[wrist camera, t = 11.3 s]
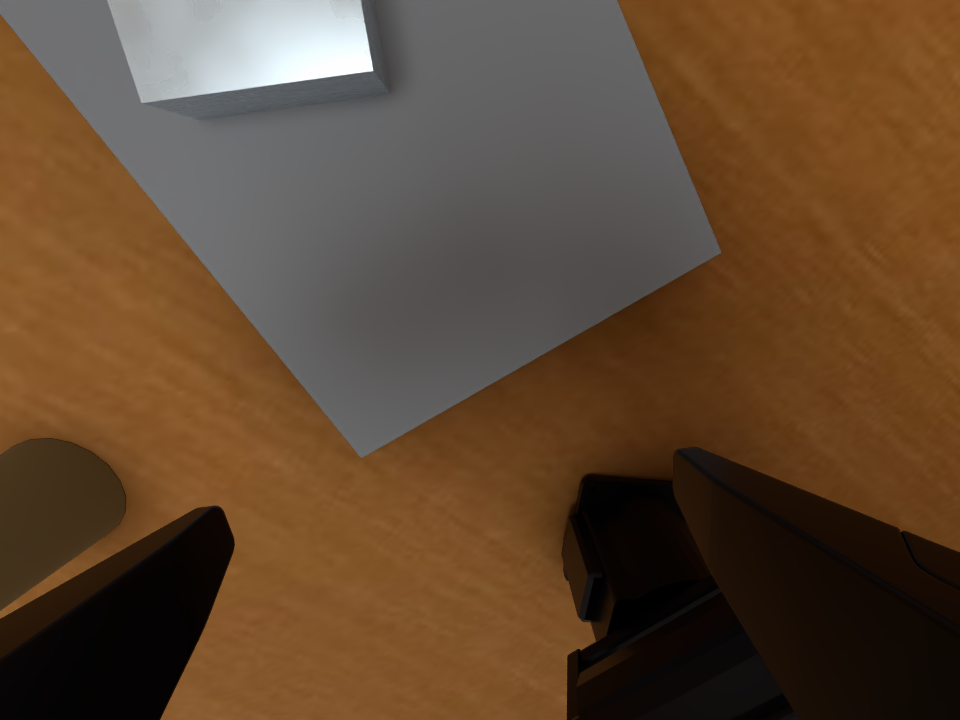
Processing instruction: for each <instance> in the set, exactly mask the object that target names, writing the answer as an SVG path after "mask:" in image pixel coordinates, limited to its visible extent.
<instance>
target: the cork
mask: <svg viewBox="0 0 960 720" xmlns="http://www.w3.org/2000/svg"><path fill="white" fill-rule="evenodd" d="M125 504H126V496H125V493H124V491H123V488H122V485H121V482H120V480H119V479H118V478H117V476H116V475H115V474H114V472H113V471H112V470H111V468H110V467H109V466H108V465H107V464H106V463H105V462H103V461H102V460H101V459H100V458H98V457H97V456H96V455H95V454H93V453H92V452H90V451H88V450H86V449H84V448H82V447H79V446H77V445H75V444H73V443H70V442H65V441H61V440H56V439H51V438H47V439H30V440H27V441H25V442H22V443H19V444H17V445H14V446H13V447H11V448H10V449H8V450H7V451H6V452H4V453H3V454H1V455H0V611H1V610H2V609H3V608H5V607H6V606H8V605H9V604H10V603H12V602H13V601H15V600H16V599H17V598H19V597H20V596H22V595H23V594H24V593H26V592H27V591H29V590H30V589H31V588H33V587H34V586H36V585H37V584H38V583H40V582H41V581H43V580H44V579H45V578H47V577H48V576H50V575H51V574H52V573H54V572H55V571H57V570H58V569H59V568H61V567H62V566H64V565H65V564H66V563H68V562H69V561H71V560H72V559H73V558H75V557H76V556H78V555H79V554H80V553H82V552H83V551H85V550H86V549H87V548H89V547H90V546H92V545H93V544H94V543H96V542H97V541H99V540H100V539H101V538H103V537H104V536H106V535H107V534H108V533H110V532H111V531H112V530H113V529H114V528H116V527H117V526H118V525H119V524H120V522H121V520H122V517H123V515H124V513H125Z"/></svg>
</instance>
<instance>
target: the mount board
mask: <svg viewBox="0 0 960 720" xmlns="http://www.w3.org/2000/svg"><path fill="white" fill-rule="evenodd" d="M374 3H375V8H376V14H377V20H378V26H379V32H380V38H381V44H382V50H383V56H384V62H385V68H386V73H387V79H388V85H389V91H390V94H384V95H377V96H369V97H362V98H355V99H348V100H341V101H333V102H326V103H319V104H312V105H305V106H297V107H290V108H283V109H276V110H269V111H261V112H254V113H247V114H240V115H232V116H225V117H218V118H211V119H204V120H196V119H193V118H189V117H186V116H183V115H179V114H176V113H173V112H169V111H166V110H163V109H159V108H156V107H153V106H149V105H146V104H143V103H141V100H140V97H139V94H138V91H137V88H136V85H135V82H134V79H133V76H132V73H131V70H130V67H129V64H128V61H127V58H126V55H125V52H124V49H123V46H122V43H121V40H120V37H119V34H118V31H117V28H116V25H115V22H114V19H113V16H112V13H111V10H110V7H109V4H108V1H107V0H0V14H1V15H2V17H3V18H4V19H5V20H6V22H7V23H8V24H9V25H10V26H11V28H12V29H13V30H14V31H15V33H16V34H17V35H18V36H19V38H20V39H21V40H22V41H23V42H24V44H25V45H26V46H27V47H28V49H29V50H30V51H31V52H32V54H33V55H34V56H35V57H36V58H37V60H38V61H39V62H40V63H41V65H42V66H43V67H44V68H45V70H46V71H47V72H48V73H49V74H50V76H51V77H52V78H53V79H54V81H55V82H56V83H57V84H58V86H59V87H60V88H61V89H62V90H63V92H64V93H65V94H66V95H67V97H68V98H69V99H70V100H71V102H72V103H73V104H74V105H75V106H76V108H77V109H78V110H79V111H80V113H81V114H82V115H83V116H84V118H85V119H86V120H87V121H88V122H89V124H90V125H91V126H92V127H93V129H94V130H95V131H96V132H97V134H98V135H99V136H100V137H101V138H102V140H103V141H104V142H105V143H106V145H107V146H108V147H109V148H110V150H111V151H112V152H113V153H114V154H115V156H116V157H117V158H118V159H119V161H120V162H121V163H122V164H123V166H124V167H125V168H126V169H127V170H128V172H129V173H130V174H131V175H132V177H133V178H134V179H135V180H136V182H137V183H138V184H139V185H140V186H141V188H142V189H143V190H144V191H145V193H146V194H147V195H148V196H149V198H150V199H151V200H152V201H153V202H154V204H155V205H156V206H157V207H158V209H159V210H160V211H161V212H162V214H163V215H164V216H165V217H166V218H167V220H168V221H169V222H170V223H171V225H172V226H173V227H174V228H175V230H176V231H177V232H178V233H179V234H180V236H181V237H182V238H183V239H184V241H185V242H186V243H187V244H188V246H189V247H190V248H191V249H192V250H193V252H194V253H195V254H196V255H197V257H198V258H199V259H200V260H201V262H202V263H203V264H204V265H205V266H206V268H207V269H208V270H209V271H210V273H211V274H212V275H213V276H214V278H215V279H216V280H217V281H218V282H219V284H220V285H221V286H222V287H223V289H224V290H225V291H226V292H227V294H228V295H229V296H230V297H231V298H232V300H233V301H234V302H235V303H236V305H237V306H238V307H239V308H240V310H241V311H242V312H243V313H244V314H245V316H246V317H247V318H248V319H249V321H250V322H251V323H252V324H253V326H254V327H255V328H256V329H257V330H258V332H259V333H260V334H261V335H262V337H263V338H264V339H265V340H266V342H267V343H268V344H269V345H270V346H271V348H272V349H273V350H274V351H275V353H276V354H277V355H278V356H279V358H280V359H281V360H282V361H283V362H284V364H285V365H286V366H287V367H288V369H289V370H290V371H291V372H292V374H293V375H294V376H295V377H296V378H297V380H298V381H299V382H300V383H301V385H302V386H303V387H304V388H305V390H306V391H307V392H308V393H309V394H310V396H311V397H312V398H313V399H314V401H315V402H316V403H317V404H318V406H319V407H320V408H321V409H322V410H323V412H324V413H325V414H326V415H327V417H328V418H329V419H330V420H331V422H332V423H333V424H334V425H335V426H336V428H337V429H338V430H339V431H340V433H341V434H342V435H343V436H344V438H345V439H346V440H347V441H348V442H349V444H350V445H351V446H352V447H353V449H354V450H355V451H356V452H357V454H358V455H359V456H360V457H361V458H363V457H365V456H366V455H368V454H370V453H372V452H373V451H375V450H377V449H379V448H380V447H382V446H384V445H386V444H387V443H389V442H391V441H393V440H394V439H396V438H398V437H400V436H401V435H403V434H405V433H407V432H408V431H410V430H412V429H414V428H415V427H417V426H419V425H421V424H422V423H424V422H426V421H428V420H429V419H431V418H433V417H435V416H436V415H438V414H440V413H442V412H443V411H445V410H447V409H449V408H450V407H452V406H454V405H456V404H457V403H459V402H461V401H463V400H464V399H466V398H468V397H470V396H471V395H473V394H475V393H477V392H478V391H480V390H482V389H484V388H485V387H487V386H489V385H491V384H492V383H494V382H496V381H498V380H499V379H501V378H503V377H505V376H506V375H508V374H510V373H512V372H513V371H515V370H517V369H519V368H520V367H522V366H524V365H526V364H527V363H529V362H531V361H533V360H534V359H536V358H538V357H540V356H541V355H543V354H545V353H547V352H548V351H550V350H552V349H554V348H555V347H557V346H559V345H561V344H562V343H564V342H566V341H568V340H569V339H571V338H573V337H575V336H576V335H578V334H580V333H582V332H583V331H585V330H587V329H589V328H590V327H592V326H594V325H596V324H597V323H599V322H601V321H603V320H604V319H606V318H608V317H610V316H611V315H613V314H615V313H617V312H618V311H620V310H622V309H624V308H625V307H627V306H629V305H631V304H632V303H634V302H636V301H638V300H640V299H641V298H643V297H645V296H647V295H648V294H650V293H652V292H654V291H655V290H657V289H659V288H661V287H662V286H664V285H666V284H668V283H669V282H671V281H673V280H675V279H676V278H678V277H680V276H682V275H683V274H685V273H687V272H689V271H690V270H692V269H694V268H696V267H697V266H699V265H701V264H703V263H704V262H706V261H708V260H710V259H711V258H713V257H715V256H717V255H718V254H720V253H722V252H721V250H720V248H719V245H718V243H717V240H716V238H715V235H714V233H713V231H712V228H711V226H710V223H709V221H708V219H707V216H706V214H705V211H704V209H703V207H702V204H701V202H700V199H699V197H698V194H697V192H696V190H695V187H694V185H693V182H692V180H691V178H690V175H689V173H688V170H687V168H686V165H685V163H684V161H683V158H682V156H681V153H680V151H679V149H678V146H677V144H676V141H675V139H674V137H673V134H672V132H671V129H670V127H669V124H668V122H667V120H666V117H665V115H664V112H663V110H662V108H661V105H660V103H659V100H658V98H657V96H656V93H655V91H654V88H653V86H652V83H651V81H650V79H649V76H648V74H647V71H646V69H645V67H644V64H643V62H642V59H641V57H640V54H639V52H638V50H637V47H636V45H635V42H634V40H633V38H632V35H631V33H630V30H629V28H628V26H627V23H626V21H625V18H624V16H623V13H622V11H621V9H620V6H619V4H618V1H617V0H374Z"/></svg>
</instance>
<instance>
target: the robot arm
mask: <svg viewBox="0 0 960 720" xmlns="http://www.w3.org/2000/svg"><path fill="white" fill-rule="evenodd" d="M592 484H594V485H595V486H594V487H593V488H588V486H590V485H592ZM234 546H235V542H234V537H233V534H232V531H231V529H230V526H229V524H228V521H227V518H226V516H225V513H224V511H223V509H222V508H221V507H219V506H208V507H199V508H196V509H194V510H192V511H191V512H189V513H187V514H185V515H183V516H182V517H180V518H178V519H176V520H175V521H173V522H171V523H169V524H168V525H166V526H164V527H162V528H160V529H159V530H157V531H155V532H153V533H152V534H150V535H148V536H146V537H145V538H143V539H141V540H139V541H137V542H136V543H134V544H132V545H130V546H129V547H127V548H125V549H123V550H121V551H120V552H118V553H116V554H114V555H113V556H111V557H109V558H107V559H106V560H104V561H102V562H100V563H98V564H97V565H95V566H93V567H91V568H90V569H88V570H86V571H84V572H83V573H81V574H79V575H77V576H75V577H74V578H72V579H70V580H68V581H67V582H65V583H63V584H61V585H60V586H58V587H56V588H54V589H52V590H51V591H49V592H47V593H45V594H44V595H42V596H40V597H38V598H36V599H35V600H33V601H31V602H29V603H28V604H26V605H24V606H22V607H21V608H19V609H17V610H15V611H13V612H12V613H10V614H8V615H6V616H5V617H3V618H1V619H0V720H160V719H161V717H162V715H163V713H164V711H165V709H166V706H167V704H168V702H169V700H170V698H171V696H172V694H173V692H174V690H175V688H176V686H177V684H178V682H179V680H180V678H181V676H182V674H183V671H184V669H185V667H186V665H187V663H188V661H189V659H190V657H191V655H192V653H193V651H194V649H195V647H196V645H197V643H198V641H199V638H200V636H201V634H202V632H203V630H204V627H205V625H206V623H207V620H208V618H209V615H210V613H211V610H212V607H213V605H214V602H215V599H216V597H217V594H218V591H219V589H220V586H221V584H222V581H223V578H224V576H225V573H226V570H227V568H228V565H229V562H230V560H231V557H232V554H233V551H234ZM562 558H563V562H564V568H563V572H564V576H565V578H566V580H567V581H569V584H570V588H571V592H572V596H573V599H574V603H575V607H576V611H577V615H578V617H579V618H580V619H581V621H582V622H591V626H592V629H593V633H594V636H595V639H596V642H595V643H593V644H591V645H589V646H588V647H586V648H584V649H583V650H580V649H577V650H576V651H574V652H572V653H570V654H569V655H568V657H567V720H960V552H957V551H955V550H952V549H950V548H947V547H945V546H942V545H939V544H937V543H934V542H932V541H929V540H927V539H924V538H922V537H919V536H917V535H915V534H912V533H910V532H907V531H902V532H901V531H900V530H899V529H898V528H897V527H894V526H892V525H889V524H887V523H884V522H882V521H880V520H877V519H875V518H872V517H870V516H867V515H865V514H862V513H860V512H857V511H855V510H852V509H850V508H847V507H845V506H842V505H840V504H837V503H835V502H832V501H830V500H827V499H825V498H822V497H820V496H817V495H815V494H812V493H810V492H807V491H805V490H802V489H800V488H797V487H795V486H792V485H790V484H788V483H785V482H783V481H780V480H778V479H775V478H773V477H770V476H768V475H765V474H763V473H760V472H758V471H755V470H753V469H750V468H748V467H745V466H743V465H740V464H738V463H735V462H733V461H730V460H728V459H725V458H723V457H720V456H718V455H715V454H713V453H710V452H708V451H706V450H703V449H701V448H698V447H690V448H682V449H677V450H676V451H675V452H674V455H673V481H661V480H647V479H633V478H619V477H605V476H587V477H585V478H584V479H583V480H582V481H581V484H580V489H579V494H578V499H577V504H576V509H575V513H572V514H571V515H570V516H569V518H568V523H567V528H566V533H565V538H564V543H563V548H562Z"/></svg>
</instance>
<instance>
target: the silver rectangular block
mask: <svg viewBox="0 0 960 720" xmlns="http://www.w3.org/2000/svg"><path fill="white" fill-rule="evenodd" d="M107 1H108V4H109V7H110V10H111V13H112V16H113V19H114V22H115V25H116V28H117V31H118V34H119V37H120V40H121V43H122V46H123V49H124V52H125V55H126V58H127V61H128V64H129V67H130V70H131V73H132V76H133V79H134V82H135V85H136V88H137V91H138V94H139V97H140V100H141V103H143V104H146V105H149V106H153V107H156V108H159V109H163V110H166V111H169V112H173V113H176V114H179V115H183V116H186V117H189V118H193V119H196V120H204V119H211V118H218V117H225V116H232V115H240V114H247V113H254V112H261V111H269V110H276V109H283V108H290V107H297V106H305V105H312V104H319V103H326V102H333V101H341V100H348V99H355V98H362V97H369V96H377V95H384V94H390V91H389V85H388V79H387V73H386V68H385V62H384V56H383V50H382V44H381V38H380V32H379V26H378V20H377V14H376V8H375V3H374V0H107Z"/></svg>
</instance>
